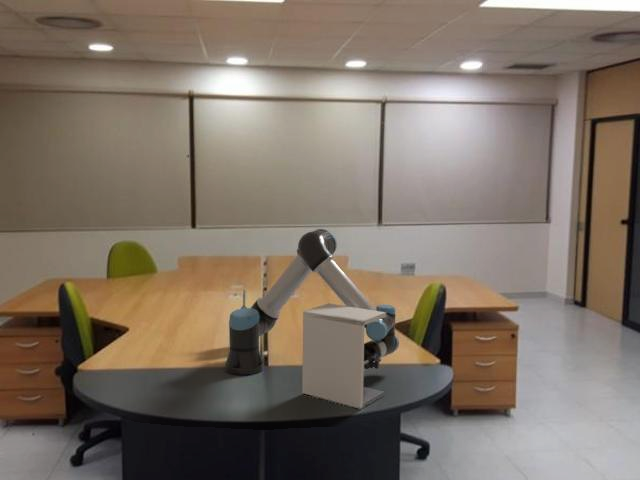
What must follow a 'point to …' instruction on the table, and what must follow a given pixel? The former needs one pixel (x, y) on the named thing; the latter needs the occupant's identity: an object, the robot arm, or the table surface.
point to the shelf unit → (336, 353)
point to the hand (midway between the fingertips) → (341, 365)
